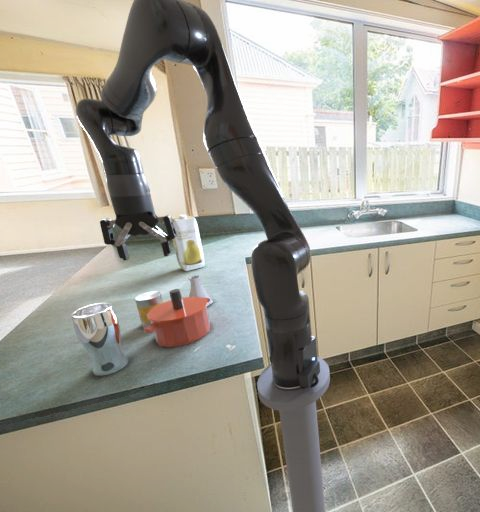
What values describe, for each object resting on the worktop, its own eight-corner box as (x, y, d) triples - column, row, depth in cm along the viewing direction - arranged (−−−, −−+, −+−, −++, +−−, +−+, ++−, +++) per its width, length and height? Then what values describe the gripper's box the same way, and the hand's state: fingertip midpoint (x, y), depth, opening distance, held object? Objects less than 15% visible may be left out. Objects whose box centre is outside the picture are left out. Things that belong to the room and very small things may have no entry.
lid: (219, 303, 85) (215, 283, 83) (176, 327, 72) (171, 305, 70) (181, 297, 88) (177, 278, 86) (134, 320, 76) (128, 298, 74)
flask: (201, 298, 103) (196, 271, 100) (217, 301, 101) (212, 274, 98) (182, 307, 96) (175, 279, 93) (198, 311, 94) (192, 282, 91)
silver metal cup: (103, 359, 71) (84, 304, 67) (136, 355, 73) (120, 301, 68) (82, 379, 65) (60, 319, 60) (119, 374, 66) (100, 315, 62)
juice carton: (184, 272, 127) (171, 217, 119) (177, 268, 131) (165, 215, 124) (207, 266, 133) (197, 214, 126) (200, 263, 138) (190, 212, 131)
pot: (227, 320, 89) (223, 297, 87) (172, 356, 72) (166, 330, 70) (193, 314, 92) (189, 293, 90) (134, 348, 76) (126, 322, 73)
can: (173, 319, 89) (166, 292, 87) (153, 330, 84) (145, 301, 81) (157, 316, 91) (150, 290, 88) (137, 327, 85) (129, 298, 83)
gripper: (84, 196, 65) (105, 265, 70) (161, 193, 70) (176, 258, 75) (99, 193, 71) (118, 256, 76) (169, 190, 77) (183, 250, 82)
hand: (147, 257), depth 76 cm, fingers open, 8 cm apart
